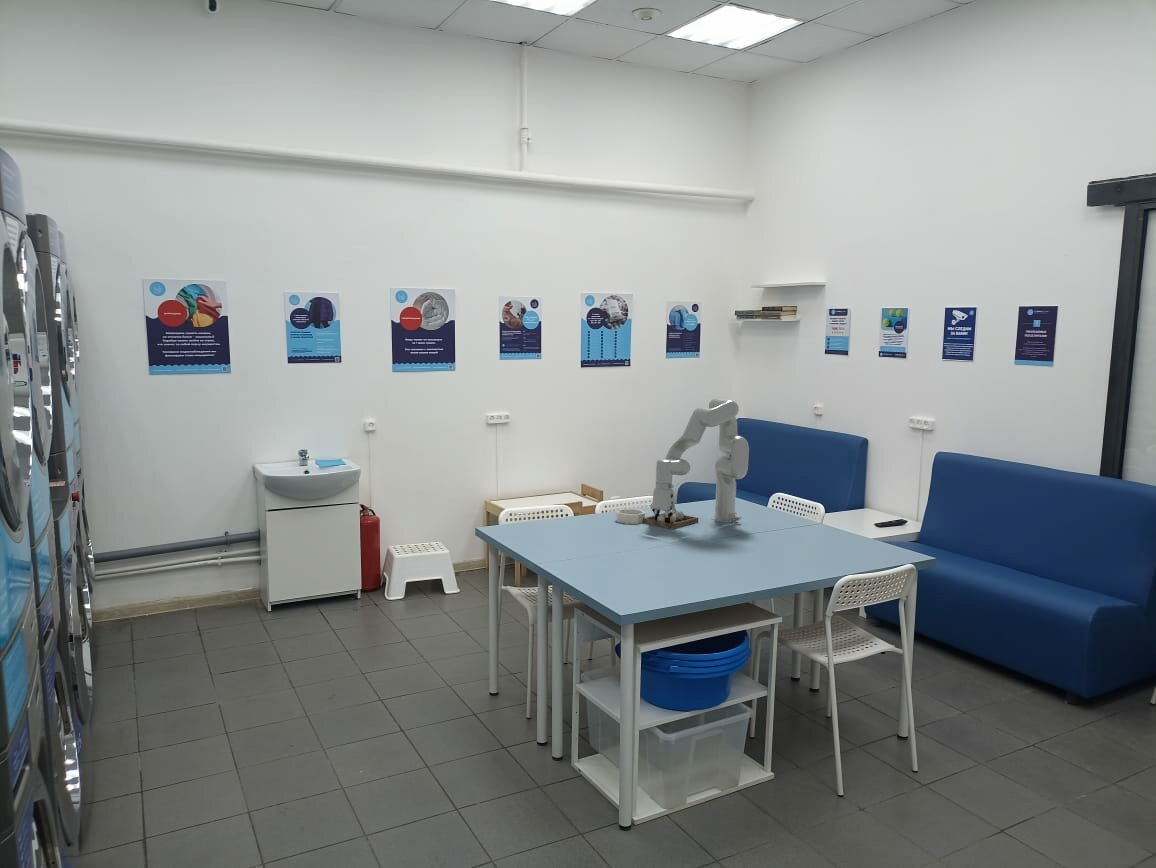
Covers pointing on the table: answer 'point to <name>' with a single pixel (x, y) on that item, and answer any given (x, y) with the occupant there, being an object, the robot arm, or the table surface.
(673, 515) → the pebble
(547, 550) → the table surface
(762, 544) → the table surface
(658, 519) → the white ball
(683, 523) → the tray
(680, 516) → the pebble
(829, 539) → the table surface
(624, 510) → the bowl
